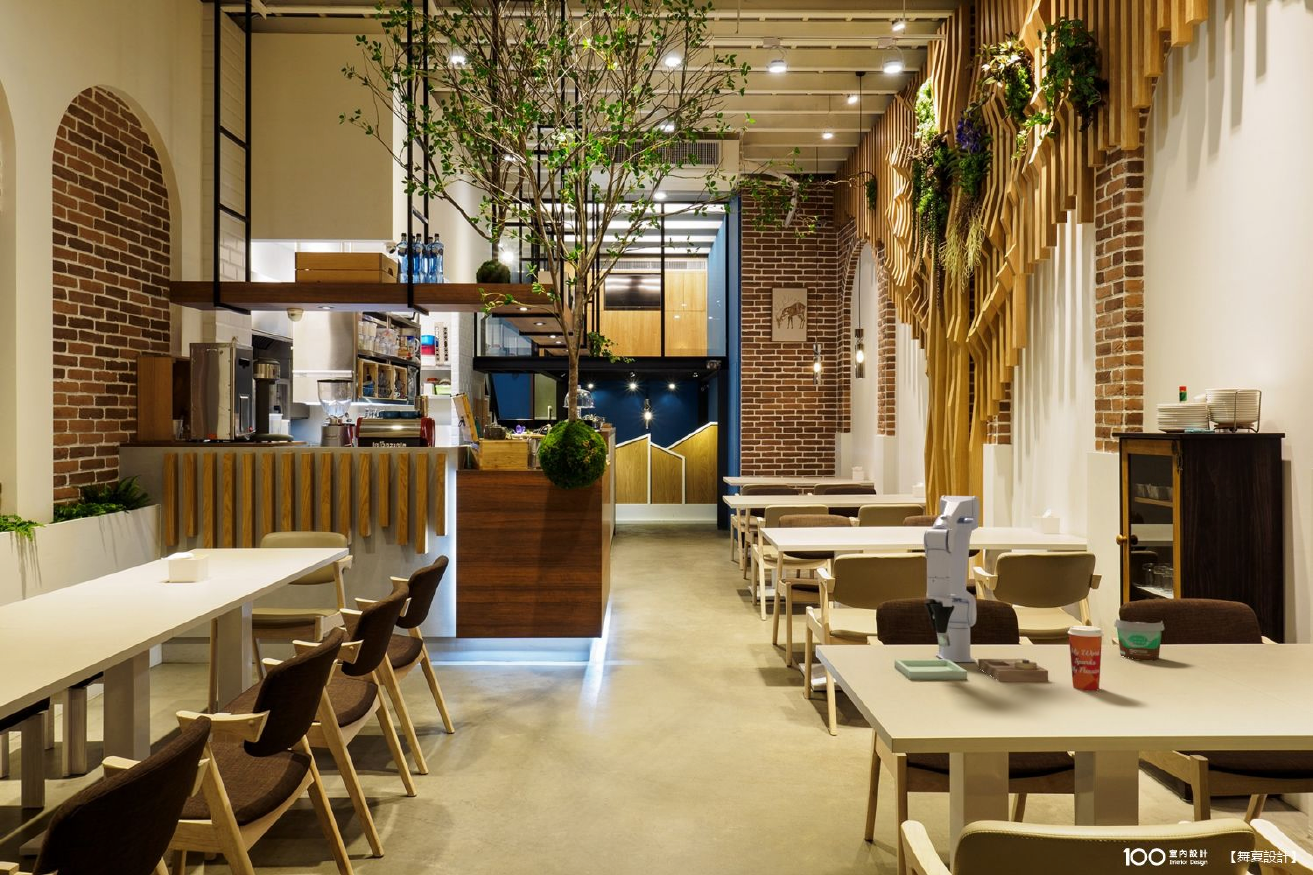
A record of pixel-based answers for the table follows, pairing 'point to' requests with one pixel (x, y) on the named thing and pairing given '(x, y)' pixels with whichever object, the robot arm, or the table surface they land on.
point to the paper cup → (1085, 656)
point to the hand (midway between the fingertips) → (939, 631)
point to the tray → (930, 669)
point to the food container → (1139, 639)
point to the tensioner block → (1013, 669)
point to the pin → (943, 638)
